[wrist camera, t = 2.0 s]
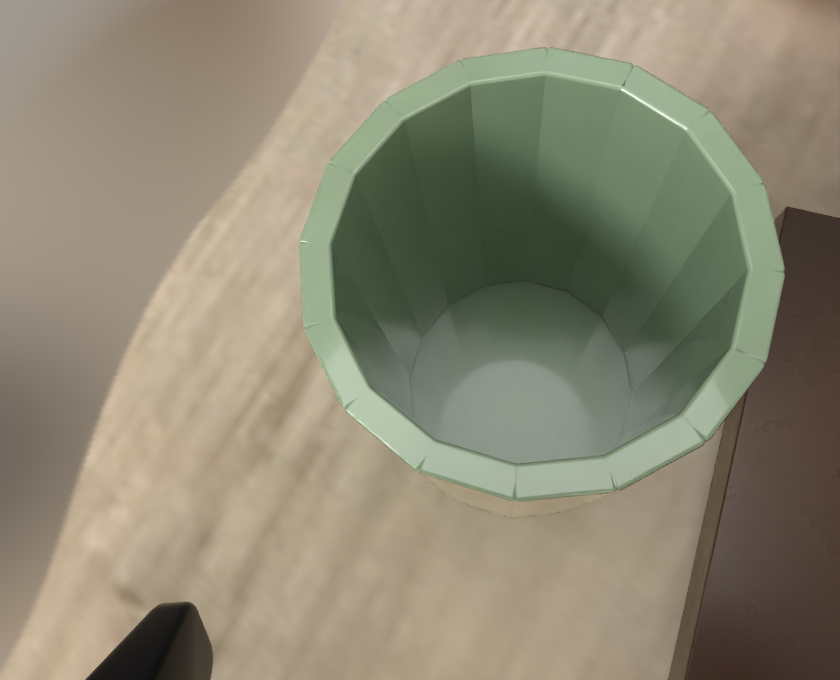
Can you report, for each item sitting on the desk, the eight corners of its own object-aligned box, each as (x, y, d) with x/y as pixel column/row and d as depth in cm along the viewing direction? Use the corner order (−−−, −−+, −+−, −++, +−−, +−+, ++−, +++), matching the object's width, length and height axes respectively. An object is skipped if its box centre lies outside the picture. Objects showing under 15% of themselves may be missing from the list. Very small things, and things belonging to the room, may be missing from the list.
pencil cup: (608, 549, 19) (725, 568, 9) (365, 473, 21) (234, 415, 11) (667, 309, 21) (823, 99, 11) (437, 250, 22) (382, 11, 12)
